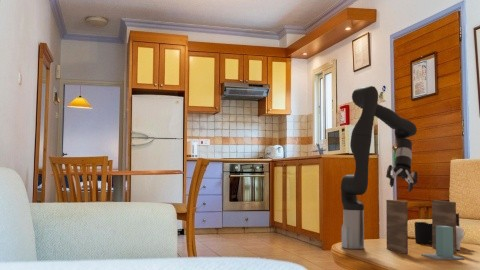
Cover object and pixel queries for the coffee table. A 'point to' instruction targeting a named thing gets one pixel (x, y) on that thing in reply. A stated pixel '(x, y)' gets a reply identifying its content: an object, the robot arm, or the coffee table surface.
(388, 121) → the robot arm
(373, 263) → the coffee table surface
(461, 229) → the lightbulb
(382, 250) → the coffee table surface
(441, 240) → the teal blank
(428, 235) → the pen holder
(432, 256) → the slate mat
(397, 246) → the wooden divider stand
